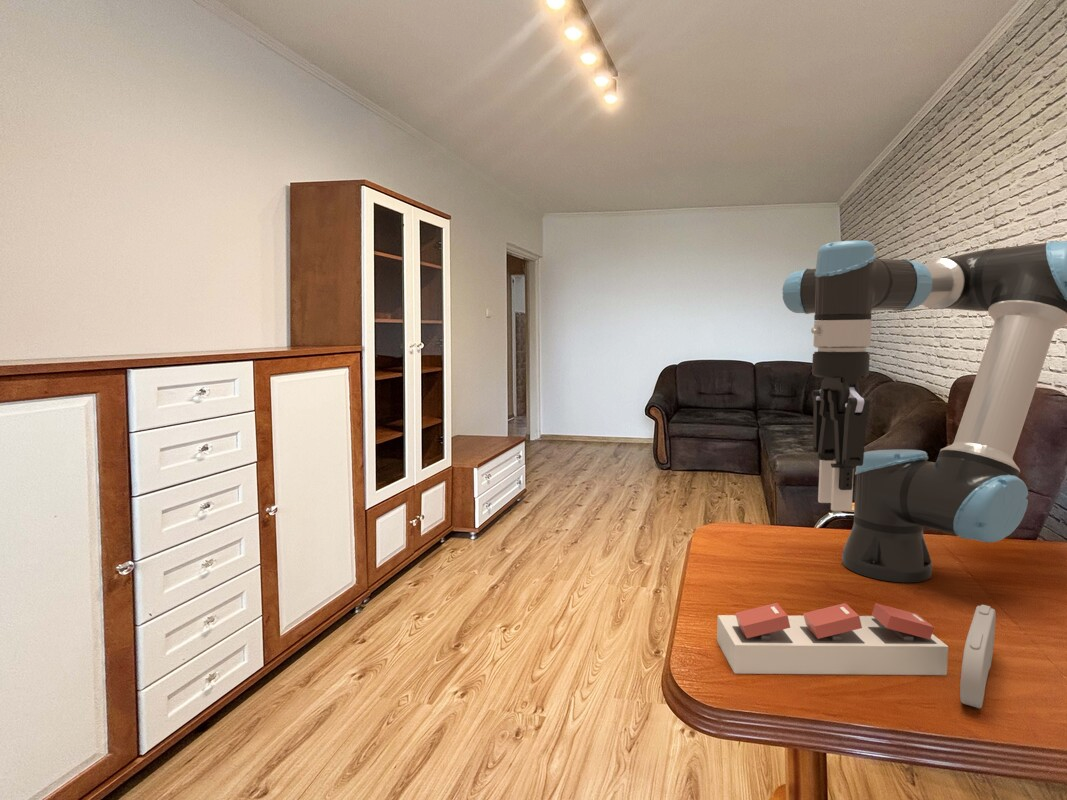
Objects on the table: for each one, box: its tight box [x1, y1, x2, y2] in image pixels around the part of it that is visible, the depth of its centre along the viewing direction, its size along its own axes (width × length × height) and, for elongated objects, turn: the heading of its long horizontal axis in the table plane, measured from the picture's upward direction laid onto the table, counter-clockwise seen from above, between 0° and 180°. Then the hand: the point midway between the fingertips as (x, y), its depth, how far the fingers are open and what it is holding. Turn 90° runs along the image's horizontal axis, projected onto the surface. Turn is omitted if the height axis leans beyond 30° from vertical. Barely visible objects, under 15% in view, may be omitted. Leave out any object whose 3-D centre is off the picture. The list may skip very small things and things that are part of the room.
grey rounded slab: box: [959, 604, 997, 709], centre depth 81 cm, size 20×2×8 cm, turn 140°
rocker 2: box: [802, 602, 862, 639], centre depth 86 cm, size 6×4×2 cm, turn 87°
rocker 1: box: [734, 602, 790, 638], centre depth 86 cm, size 6×4×2 cm, turn 87°
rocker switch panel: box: [716, 614, 949, 676], centre depth 88 cm, size 28×9×5 cm, turn 88°
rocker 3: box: [871, 602, 935, 639], centre depth 86 cm, size 6×4×2 cm, turn 90°
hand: (834, 505), depth 94 cm, fingers open, 4 cm apart
